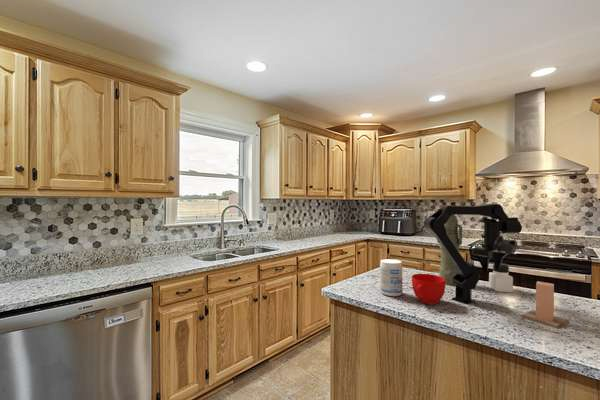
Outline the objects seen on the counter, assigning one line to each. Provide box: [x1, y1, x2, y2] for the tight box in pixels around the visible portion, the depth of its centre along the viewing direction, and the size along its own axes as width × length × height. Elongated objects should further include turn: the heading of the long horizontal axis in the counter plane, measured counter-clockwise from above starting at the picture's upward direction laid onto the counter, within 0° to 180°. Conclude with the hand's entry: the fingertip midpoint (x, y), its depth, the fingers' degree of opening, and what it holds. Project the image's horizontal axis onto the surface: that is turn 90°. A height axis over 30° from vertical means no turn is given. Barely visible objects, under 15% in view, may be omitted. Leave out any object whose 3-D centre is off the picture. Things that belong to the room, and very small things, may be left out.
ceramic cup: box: [411, 273, 446, 305], centre depth 116 cm, size 13×17×10 cm
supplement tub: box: [379, 258, 403, 297], centre depth 127 cm, size 10×10×15 cm
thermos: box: [436, 215, 463, 287], centre depth 143 cm, size 9×12×35 cm
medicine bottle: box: [488, 263, 514, 293], centre depth 133 cm, size 7×7×12 cm
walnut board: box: [520, 309, 570, 329], centre depth 100 cm, size 10×10×1 cm
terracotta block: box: [535, 280, 555, 321], centre depth 100 cm, size 4×4×12 cm
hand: (491, 270), depth 118 cm, fingers open, 9 cm apart
